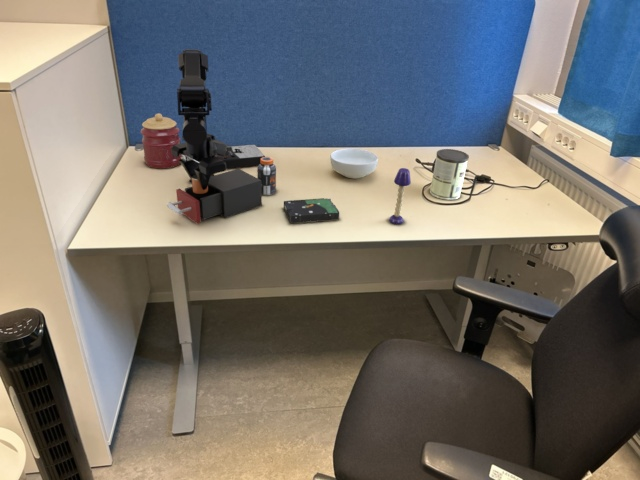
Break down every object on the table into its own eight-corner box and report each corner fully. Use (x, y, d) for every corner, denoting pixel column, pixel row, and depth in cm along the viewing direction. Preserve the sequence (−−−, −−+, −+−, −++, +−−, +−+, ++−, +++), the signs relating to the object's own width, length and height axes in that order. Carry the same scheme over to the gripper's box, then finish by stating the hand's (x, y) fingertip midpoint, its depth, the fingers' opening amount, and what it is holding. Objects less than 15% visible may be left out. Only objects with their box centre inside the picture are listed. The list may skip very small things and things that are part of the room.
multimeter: (206, 158, 175) (205, 145, 173) (255, 153, 182) (255, 141, 180) (213, 171, 165) (212, 157, 162) (266, 165, 172) (266, 152, 169)
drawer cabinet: (224, 218, 135) (223, 191, 131) (203, 204, 142) (201, 178, 138) (261, 205, 144) (261, 180, 140) (239, 193, 151) (238, 168, 146)
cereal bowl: (365, 164, 179) (367, 146, 175) (383, 181, 166) (386, 162, 162) (323, 167, 174) (324, 149, 170) (338, 185, 160) (340, 165, 157)
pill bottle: (272, 196, 150) (273, 163, 144) (255, 194, 151) (254, 160, 145) (278, 189, 155) (278, 156, 149) (260, 186, 156) (260, 154, 150)
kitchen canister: (167, 153, 177) (161, 106, 168) (190, 162, 171) (186, 113, 162) (137, 162, 168) (130, 113, 159) (160, 172, 161) (154, 121, 152)
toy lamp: (406, 225, 138) (415, 172, 130) (392, 226, 137) (400, 173, 129) (399, 217, 142) (407, 165, 134) (385, 218, 141) (393, 166, 133)
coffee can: (433, 185, 165) (440, 146, 158) (462, 191, 162) (471, 152, 155) (426, 195, 157) (433, 155, 150) (456, 202, 154) (466, 162, 147)
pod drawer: (183, 228, 127) (181, 206, 124) (164, 214, 133) (161, 193, 130) (234, 211, 138) (233, 190, 134) (214, 199, 144) (213, 179, 140)
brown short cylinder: (203, 194, 130) (202, 180, 128) (190, 192, 131) (188, 178, 129) (210, 189, 134) (209, 175, 132) (197, 186, 135) (196, 172, 133)
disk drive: (290, 225, 134) (339, 220, 138) (290, 216, 133) (340, 211, 137) (282, 208, 143) (329, 204, 147) (283, 200, 142) (329, 196, 145)
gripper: (242, 136, 124) (243, 190, 131) (203, 119, 135) (206, 170, 143) (205, 144, 117) (209, 201, 124) (167, 125, 128) (173, 178, 136)
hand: (200, 186), depth 132 cm, fingers closed on brown short cylinder, 4 cm apart
